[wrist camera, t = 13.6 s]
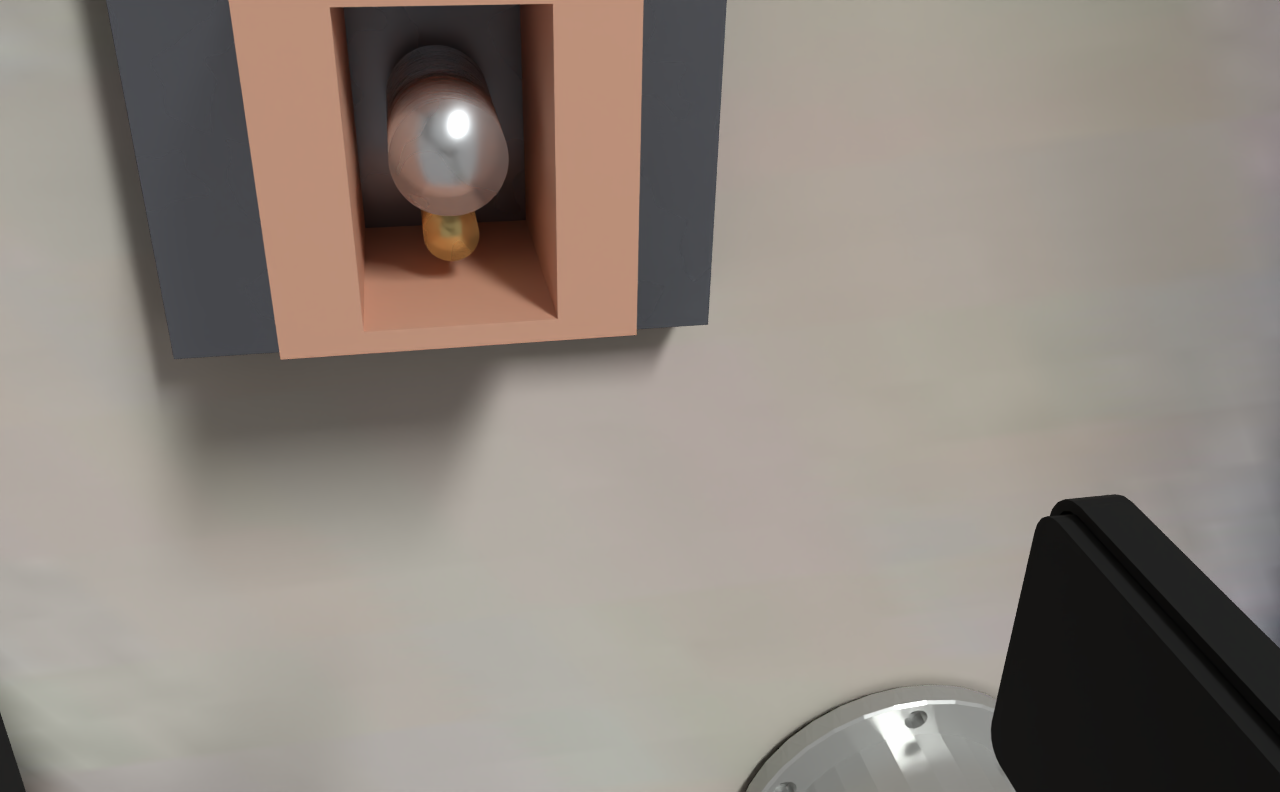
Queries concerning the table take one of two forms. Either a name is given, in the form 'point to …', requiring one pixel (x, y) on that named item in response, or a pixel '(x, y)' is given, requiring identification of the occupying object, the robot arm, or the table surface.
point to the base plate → (224, 178)
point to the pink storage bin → (397, 256)
